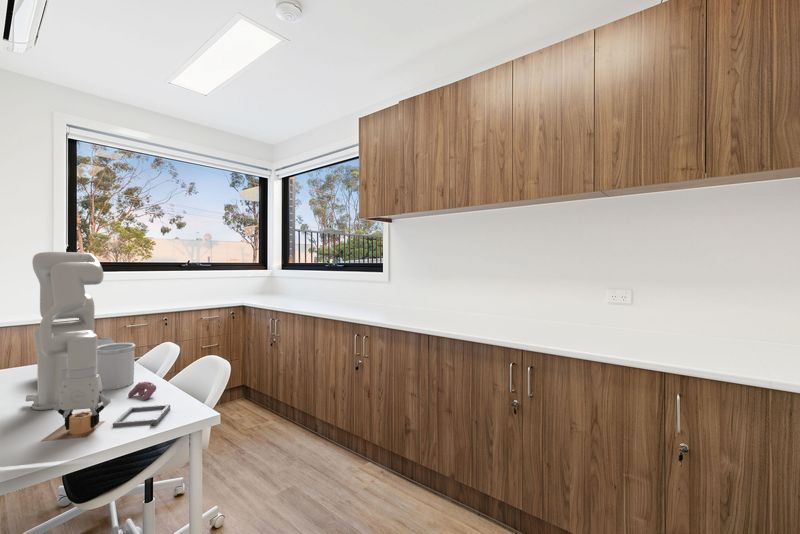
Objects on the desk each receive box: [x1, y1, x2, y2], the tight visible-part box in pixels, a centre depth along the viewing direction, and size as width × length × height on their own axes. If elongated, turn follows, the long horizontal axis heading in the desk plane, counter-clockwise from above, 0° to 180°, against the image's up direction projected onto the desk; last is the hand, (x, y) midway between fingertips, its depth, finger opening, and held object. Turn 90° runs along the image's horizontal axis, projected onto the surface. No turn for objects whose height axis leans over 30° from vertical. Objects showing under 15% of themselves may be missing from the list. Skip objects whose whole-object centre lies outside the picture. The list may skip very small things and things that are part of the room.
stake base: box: [39, 414, 106, 442], centre depth 121 cm, size 12×12×6 cm
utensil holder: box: [97, 342, 136, 391], centre depth 166 cm, size 15×15×18 cm
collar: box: [69, 410, 95, 434], centre depth 120 cm, size 6×8×5 cm
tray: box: [112, 404, 171, 428], centre depth 132 cm, size 13×14×2 cm
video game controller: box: [127, 381, 157, 401], centre depth 153 cm, size 10×5×7 cm, turn 72°
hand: (82, 426), depth 121 cm, fingers closed on collar, 6 cm apart
